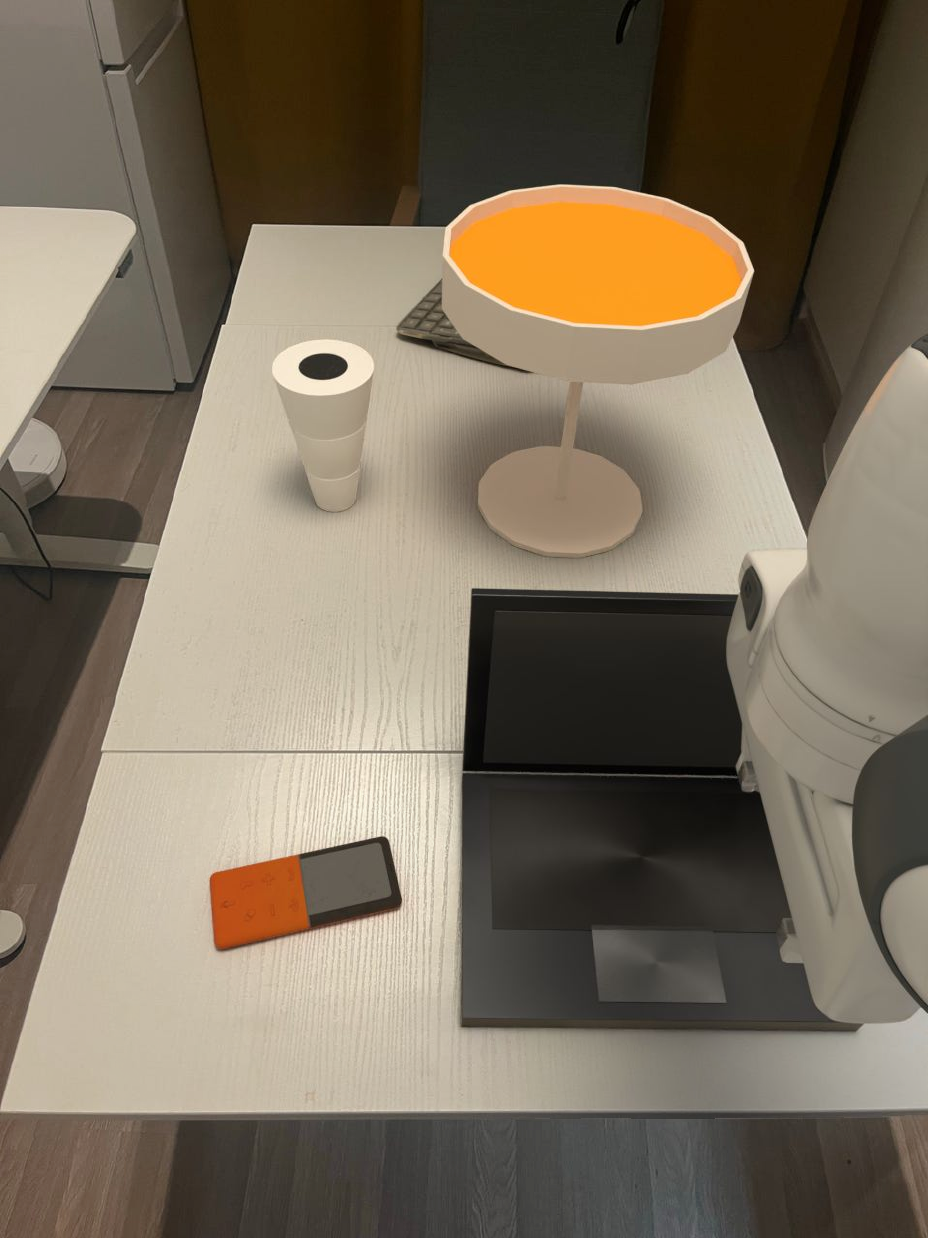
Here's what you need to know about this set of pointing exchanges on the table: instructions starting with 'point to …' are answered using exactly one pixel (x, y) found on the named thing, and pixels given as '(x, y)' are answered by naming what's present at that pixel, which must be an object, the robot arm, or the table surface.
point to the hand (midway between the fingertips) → (771, 859)
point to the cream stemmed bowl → (586, 333)
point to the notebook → (624, 907)
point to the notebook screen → (600, 683)
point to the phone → (303, 892)
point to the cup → (327, 413)
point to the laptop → (438, 327)
